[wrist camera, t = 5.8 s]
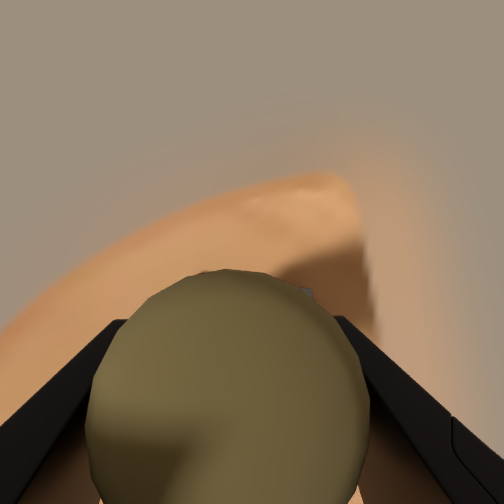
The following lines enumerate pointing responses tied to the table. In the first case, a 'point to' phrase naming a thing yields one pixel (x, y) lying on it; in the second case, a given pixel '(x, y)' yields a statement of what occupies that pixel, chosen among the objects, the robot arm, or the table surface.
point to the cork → (228, 399)
